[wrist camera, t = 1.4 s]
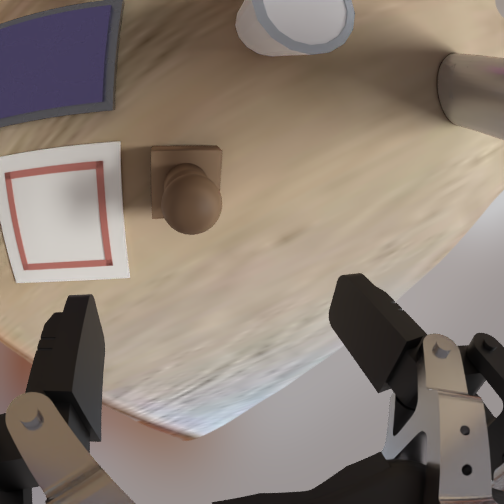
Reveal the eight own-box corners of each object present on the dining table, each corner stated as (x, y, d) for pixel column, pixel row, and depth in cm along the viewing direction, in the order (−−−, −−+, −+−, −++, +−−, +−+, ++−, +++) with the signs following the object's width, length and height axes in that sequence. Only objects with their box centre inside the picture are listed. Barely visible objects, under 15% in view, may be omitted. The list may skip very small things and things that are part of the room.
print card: (120, 140, 21) (119, 141, 21) (130, 276, 26) (129, 278, 26) (-8, 158, 18) (-10, 159, 17) (17, 281, 23) (16, 283, 23)
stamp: (215, 144, 23) (243, 169, 16) (212, 203, 26) (237, 253, 18) (152, 145, 22) (147, 170, 14) (152, 206, 24) (151, 258, 17)
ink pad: (124, 2, 15) (122, -4, 14) (114, 109, 20) (111, 110, 18) (1, 27, 12) (-7, 24, 11) (-5, 128, 16) (-14, 131, 15)
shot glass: (250, 76, 21) (283, 69, 15) (212, 5, 18) (232, -26, 12) (321, 48, 21) (370, 39, 15) (287, -19, 18) (328, -46, 12)
